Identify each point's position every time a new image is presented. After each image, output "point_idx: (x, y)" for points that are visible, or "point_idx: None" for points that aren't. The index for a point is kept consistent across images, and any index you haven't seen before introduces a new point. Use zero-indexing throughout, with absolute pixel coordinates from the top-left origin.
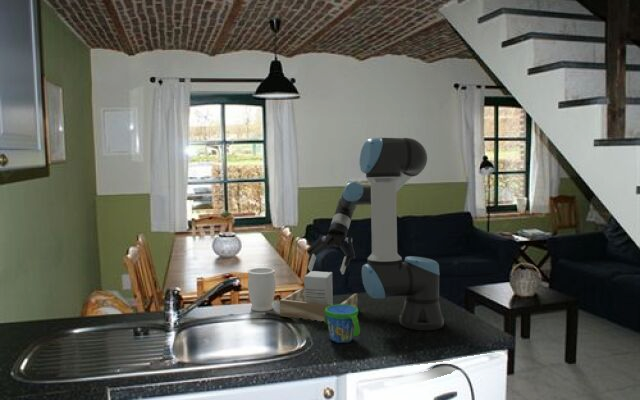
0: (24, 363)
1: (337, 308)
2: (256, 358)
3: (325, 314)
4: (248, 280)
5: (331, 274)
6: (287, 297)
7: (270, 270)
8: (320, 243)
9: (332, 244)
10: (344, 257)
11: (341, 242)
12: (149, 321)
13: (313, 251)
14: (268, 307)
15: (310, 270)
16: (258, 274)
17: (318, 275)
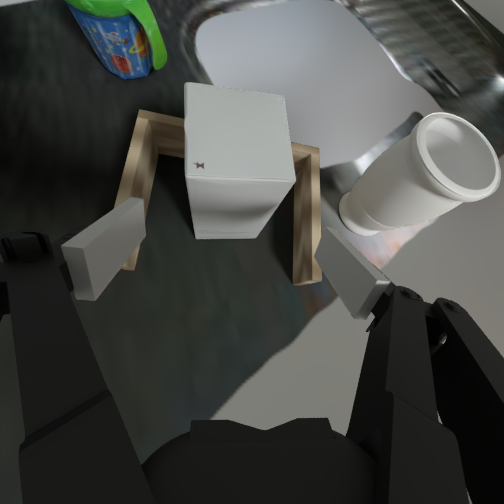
0: (457, 4)
1: None
2: (246, 2)
3: (161, 39)
4: (448, 154)
5: (185, 160)
6: (312, 172)
7: (448, 193)
8: (484, 490)
9: (275, 432)
10: (85, 240)
11: (36, 456)
12: (467, 118)
13: (406, 301)
14: (345, 199)
15: (319, 250)
16: (437, 114)
17: (231, 106)
